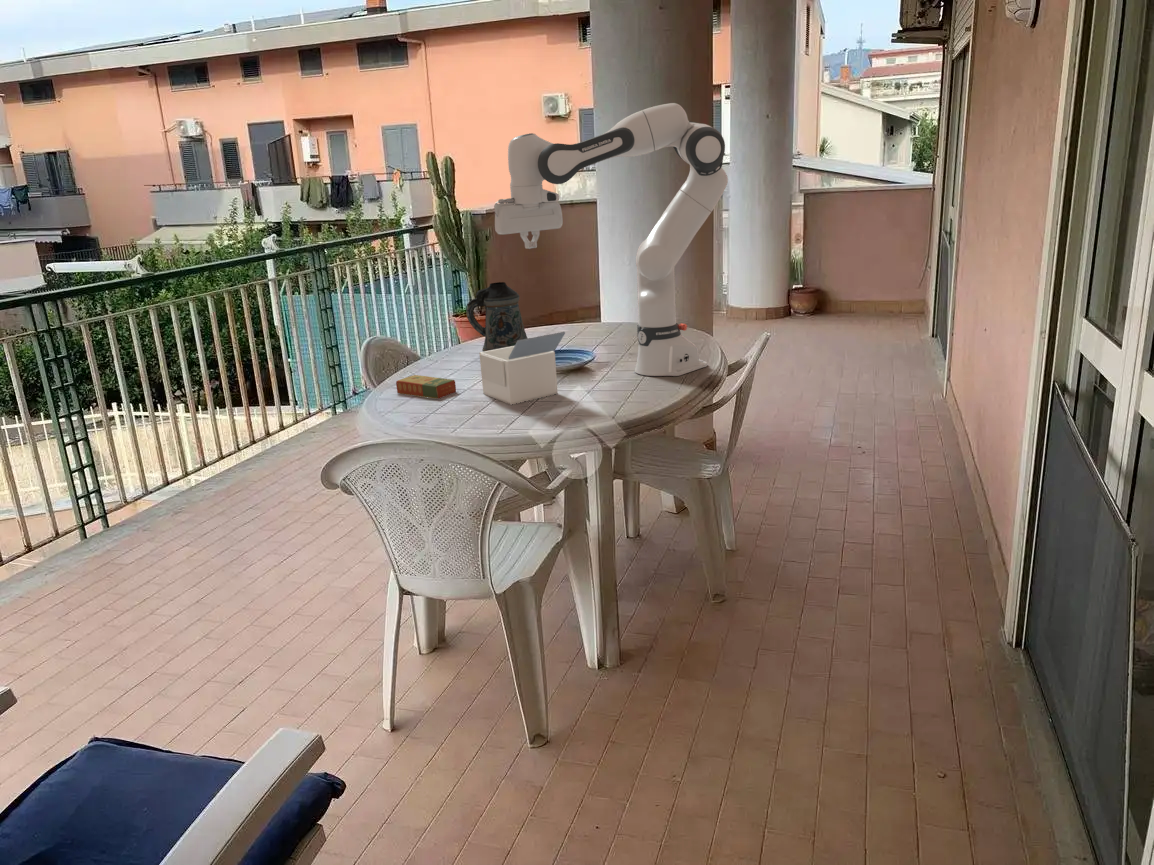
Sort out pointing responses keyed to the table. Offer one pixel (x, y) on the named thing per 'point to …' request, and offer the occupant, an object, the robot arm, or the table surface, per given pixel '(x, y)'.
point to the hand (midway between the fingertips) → (531, 248)
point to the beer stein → (498, 316)
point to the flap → (536, 345)
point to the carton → (426, 386)
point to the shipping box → (518, 375)
